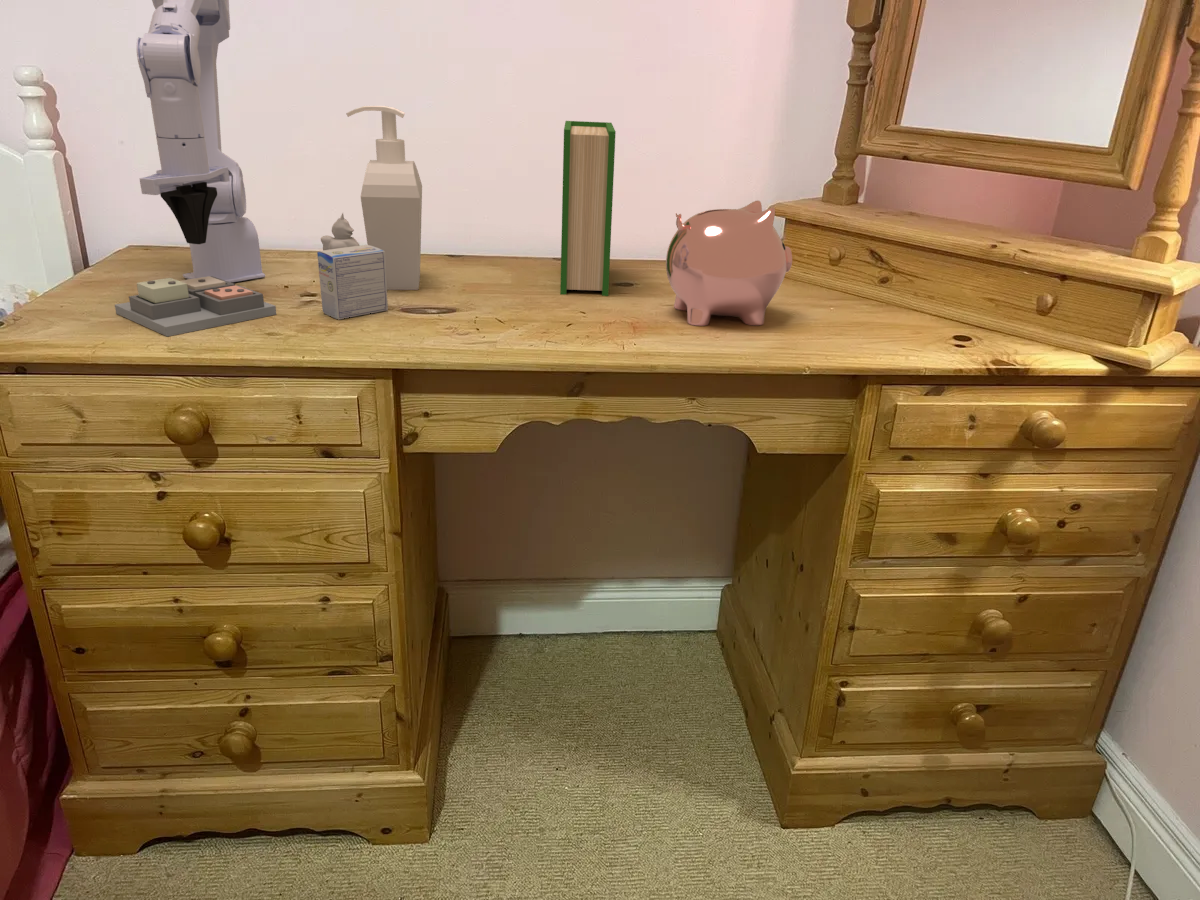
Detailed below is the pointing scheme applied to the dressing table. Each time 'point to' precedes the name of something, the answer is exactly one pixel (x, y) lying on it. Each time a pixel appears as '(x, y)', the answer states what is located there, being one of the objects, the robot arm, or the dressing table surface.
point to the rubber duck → (339, 236)
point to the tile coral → (228, 292)
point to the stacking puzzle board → (194, 311)
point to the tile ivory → (203, 282)
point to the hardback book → (587, 205)
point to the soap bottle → (393, 204)
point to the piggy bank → (727, 264)
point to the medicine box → (352, 281)
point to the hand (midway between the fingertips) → (196, 242)
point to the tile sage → (162, 290)
